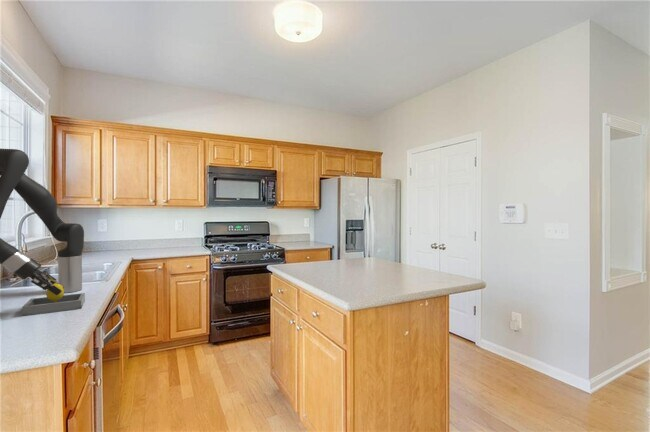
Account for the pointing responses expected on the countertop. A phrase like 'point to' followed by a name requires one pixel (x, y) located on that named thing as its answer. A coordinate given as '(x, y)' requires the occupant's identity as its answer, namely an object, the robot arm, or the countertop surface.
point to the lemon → (52, 296)
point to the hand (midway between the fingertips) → (60, 291)
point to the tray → (53, 304)
